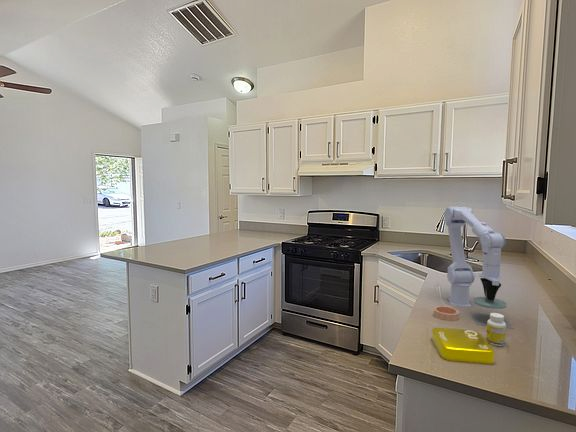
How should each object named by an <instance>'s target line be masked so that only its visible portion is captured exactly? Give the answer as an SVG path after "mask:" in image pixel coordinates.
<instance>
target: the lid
mask: <svg viewBox="0 0 576 432" xmlns="http://www.w3.org/2000/svg"><path fill="white" fill-rule="evenodd" d="M472 299H473V300H472V302H473V304H475V305H476V306H480V307H482V308H487V309H493V310H495V309H496V310H500V309H506V308H507V305H508V304H507V302H506V301H505V300H502V299H498V298H495V299H494V300H488V299H487V294H486V297H485V296H475V297H473V298H472Z"/></svg>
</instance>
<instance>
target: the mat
mask: <svg viewBox="0 0 576 432" xmlns="http://www.w3.org/2000/svg"><path fill="white" fill-rule="evenodd" d="M470 315H471V317H472V319H473V321H474V322H475V323H476V325H477V326H478V325H479V326H486V327H487V321H488V320H489V319H490V314H487V313H486V314H485V313H477V312H470ZM504 322H505V323H506V329H511V330H514V329H515V328H514V327H513V325H511V324H510V322H509V321H508V320H507V319H506V318H505V316H504Z"/></svg>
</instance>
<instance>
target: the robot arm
mask: <svg viewBox="0 0 576 432" xmlns="http://www.w3.org/2000/svg"><path fill="white" fill-rule="evenodd" d="M473 213H474V212H473V209H472V208H471V207H470V206H447V207H446V208H445V210H444V212H443V216H444V222H445V225H446V226H447V230H448V238H449V245H450V252H451V253H450V254H451V258H452V263H451V264H449V266H447V273H446V274H447V276H446V278H447V281H448V282H449V283H450V297H448V298H447V299H448V300H449V303H450V305H453V306H461V307H462V306H463V307H472V305H471V304H470V288H471V287H470V286H472V284H473V283H474V282H475V279H476V277H475V273H474V271H473V267H472V266H471V264H468V262H466V261H467V260H466V255H465V250H464V243H463V235H462V227H463V226H465V225H466V224H467V225H468V226H470V227H471V228H472V229H471V231H472V233H473V234H474V235H475V237H477V238H478V239H479V243H480V245H481V251H482V252H483V253H482V256H483V257H482V271H481V273H478V277H479V278H480V282H481V284H482V286H483V293H484V297H486V294H487V299H488V300H494V299H496V296H497V292H498V290H499V289H500V288H501V287H502V283H500V279H501V275H500V274H501V258H502V249H503V248H504V247H505V246H506V237H505V235H504V234H503V233H501V232H496V231H494V230H493V228H491V227H490V226H488V224H487V222H485V221H480V220H479V219H477V217H476V216H475V215H474V214H473Z"/></svg>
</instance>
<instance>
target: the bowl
mask: <svg viewBox="0 0 576 432" xmlns="http://www.w3.org/2000/svg"><path fill="white" fill-rule="evenodd" d="M432 317H434V318H437V319H439V320H443V321H449V322H453V321H459V319H460V311H459V310H458V309H456V308H454V307H450V306H445V305H437V306H434V307H433V315H432Z"/></svg>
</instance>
